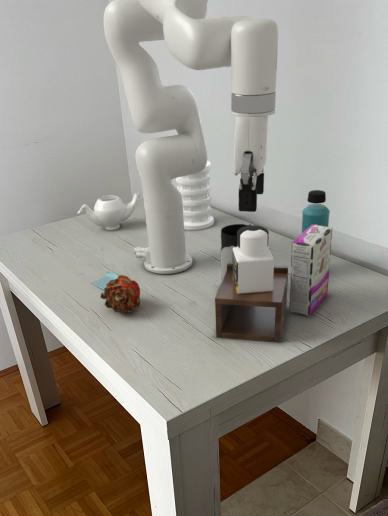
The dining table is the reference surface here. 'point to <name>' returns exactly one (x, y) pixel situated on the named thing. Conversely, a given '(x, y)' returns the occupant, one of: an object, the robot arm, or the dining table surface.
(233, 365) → the dining table surface
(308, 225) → the beverage bottle
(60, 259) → the dining table surface
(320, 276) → the candy bar box
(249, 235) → the medicine bottle
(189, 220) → the decorative container
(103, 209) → the teapot
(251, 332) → the dark wooden cubby
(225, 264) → the black and white mug
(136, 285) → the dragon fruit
